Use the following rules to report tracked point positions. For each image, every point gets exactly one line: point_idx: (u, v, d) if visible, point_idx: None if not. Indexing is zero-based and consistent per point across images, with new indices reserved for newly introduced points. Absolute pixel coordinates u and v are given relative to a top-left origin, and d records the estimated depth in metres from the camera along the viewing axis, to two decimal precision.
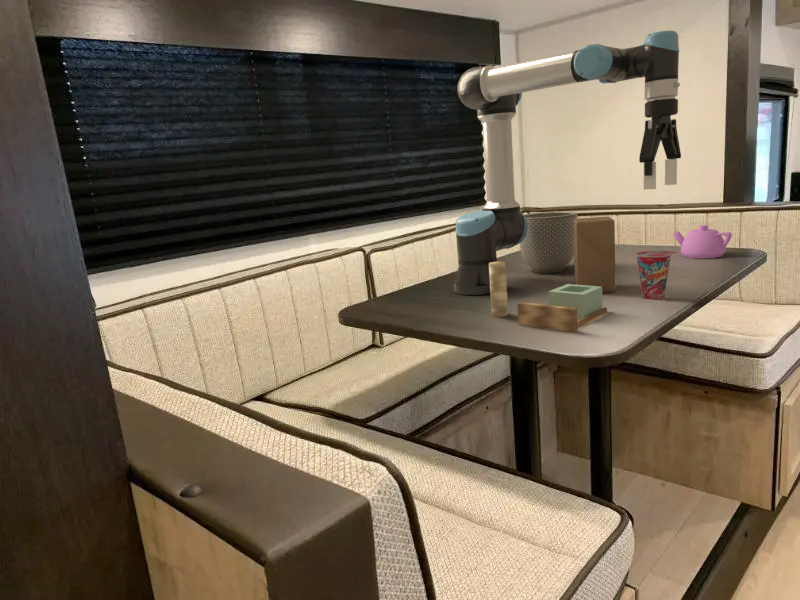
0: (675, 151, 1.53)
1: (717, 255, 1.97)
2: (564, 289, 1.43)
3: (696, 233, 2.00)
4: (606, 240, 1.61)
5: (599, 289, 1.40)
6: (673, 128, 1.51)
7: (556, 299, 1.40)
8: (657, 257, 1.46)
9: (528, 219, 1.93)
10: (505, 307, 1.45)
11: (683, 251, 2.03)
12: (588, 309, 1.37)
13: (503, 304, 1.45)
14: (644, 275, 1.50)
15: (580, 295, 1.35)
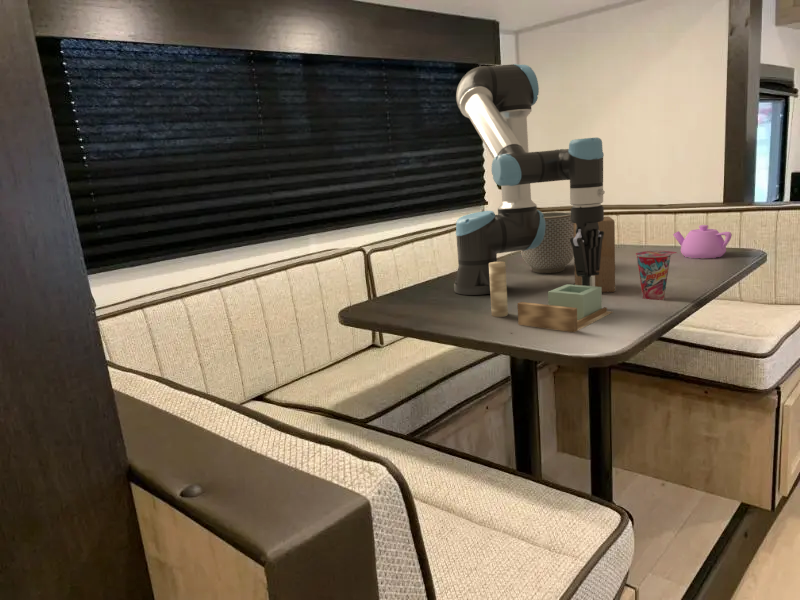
0: (594, 265, 1.44)
1: (717, 255, 1.97)
2: (563, 289, 1.42)
3: (696, 233, 2.00)
4: (606, 240, 1.61)
5: (598, 289, 1.39)
6: (599, 238, 1.45)
7: (555, 299, 1.39)
8: (657, 257, 1.46)
9: None
10: (505, 307, 1.45)
11: (683, 251, 2.03)
12: (587, 309, 1.36)
13: (503, 304, 1.45)
14: (644, 275, 1.50)
15: (579, 295, 1.35)
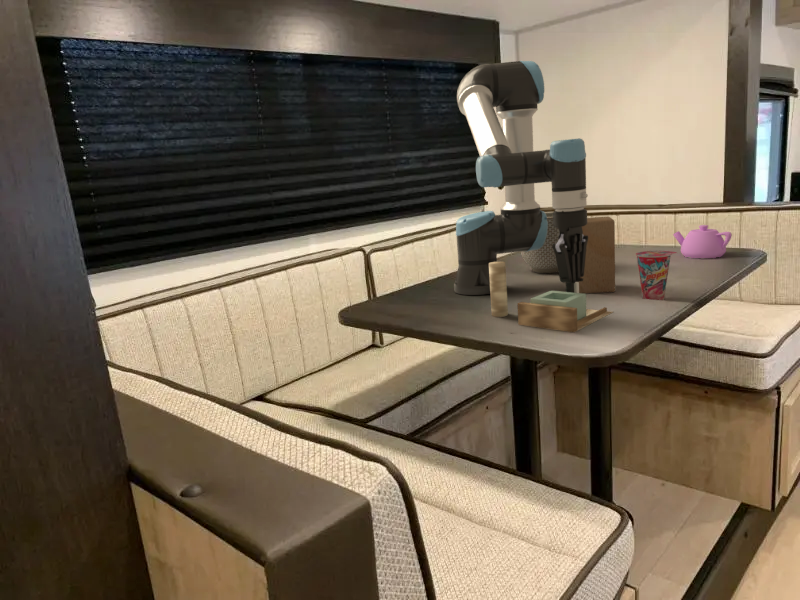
0: (578, 271, 1.38)
1: (717, 255, 1.97)
2: (547, 296, 1.37)
3: (696, 233, 2.00)
4: (606, 240, 1.61)
5: (583, 296, 1.34)
6: (583, 242, 1.40)
7: None
8: (657, 257, 1.46)
9: None
10: (505, 307, 1.45)
11: (683, 251, 2.03)
12: None
13: (503, 304, 1.45)
14: (644, 275, 1.50)
15: (562, 303, 1.30)
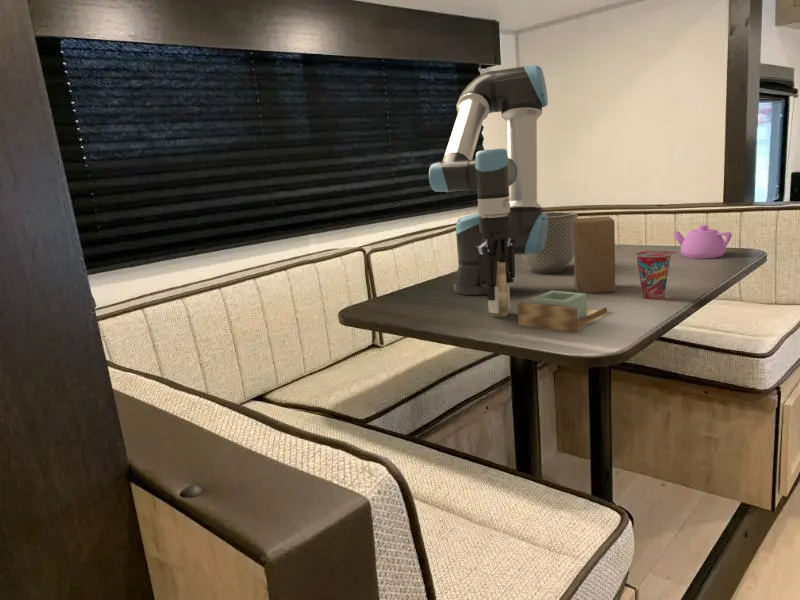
0: (508, 273, 1.46)
1: (717, 255, 1.97)
2: (547, 296, 1.37)
3: (696, 233, 2.00)
4: (606, 240, 1.61)
5: (583, 296, 1.34)
6: (510, 246, 1.46)
7: None
8: (657, 257, 1.46)
9: None
10: (505, 307, 1.45)
11: (683, 251, 2.03)
12: None
13: (503, 304, 1.45)
14: (644, 275, 1.50)
15: (563, 303, 1.30)
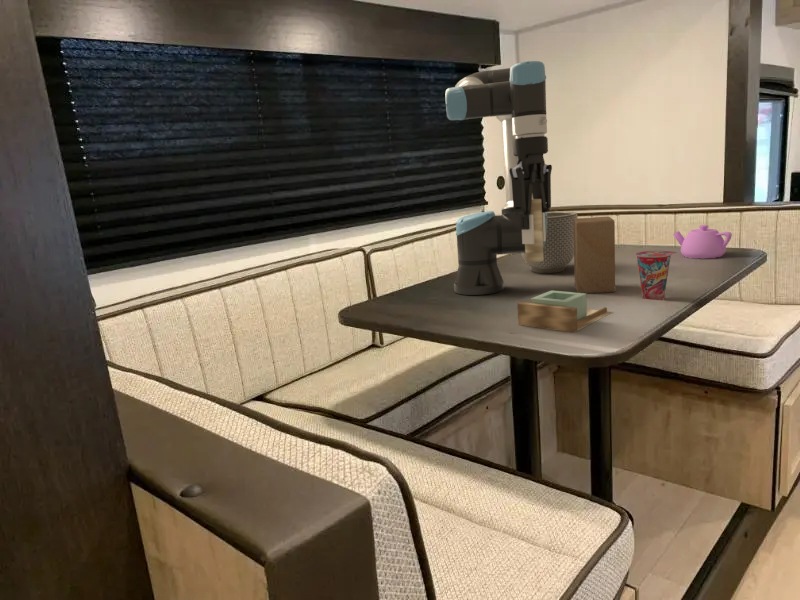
0: (544, 202, 1.35)
1: (717, 255, 1.97)
2: (547, 296, 1.37)
3: (696, 233, 2.00)
4: (606, 240, 1.61)
5: (583, 296, 1.34)
6: (546, 173, 1.35)
7: None
8: (657, 257, 1.46)
9: None
10: (541, 248, 1.34)
11: (683, 251, 2.03)
12: None
13: (538, 244, 1.34)
14: (644, 275, 1.50)
15: (563, 303, 1.30)
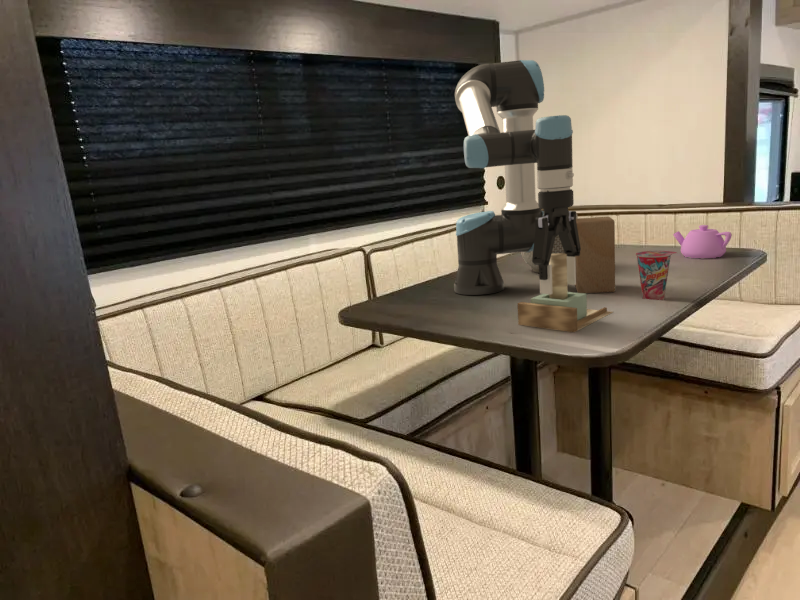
0: (573, 247, 1.36)
1: (717, 255, 1.97)
2: (547, 296, 1.37)
3: (696, 233, 2.00)
4: (606, 240, 1.61)
5: (583, 296, 1.34)
6: (572, 220, 1.35)
7: None
8: (657, 257, 1.46)
9: None
10: None
11: (683, 251, 2.03)
12: None
13: (563, 299, 1.34)
14: (644, 275, 1.50)
15: (563, 303, 1.30)
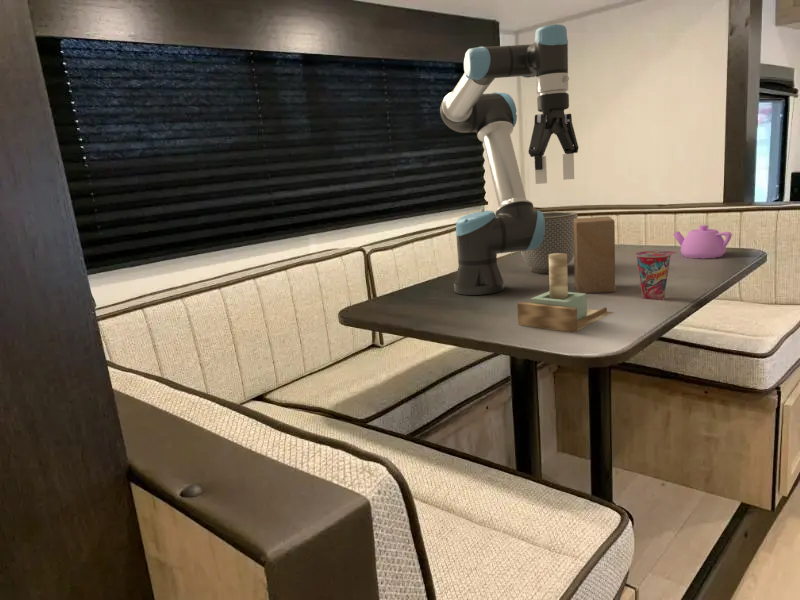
0: (571, 145, 1.53)
1: (717, 255, 1.97)
2: (547, 296, 1.37)
3: (696, 233, 2.00)
4: (606, 240, 1.61)
5: (583, 296, 1.34)
6: (568, 122, 1.51)
7: None
8: (657, 257, 1.46)
9: None
10: None
11: (683, 251, 2.03)
12: None
13: (563, 299, 1.34)
14: (644, 275, 1.50)
15: (563, 303, 1.30)
